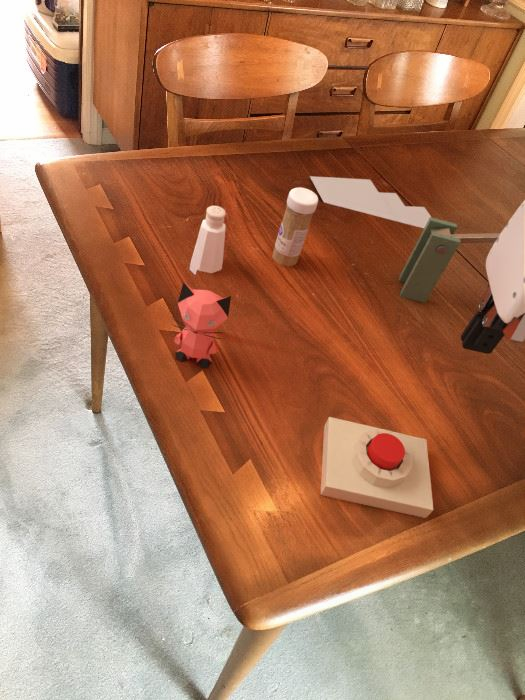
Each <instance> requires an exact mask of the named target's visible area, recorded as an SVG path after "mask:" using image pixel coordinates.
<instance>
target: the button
mask: <svg viewBox="0 0 525 700" xmlns="http://www.w3.org/2000/svg"><path fill="white" fill-rule="evenodd" d="M404 455H405V448H404V446H403V444H402V442H401V441H400V440H399V439H398V438H397V437H395V436H393V435H391V434H388V433H381V434H378V435H376V436H375V437H374V439H373V440H372V442H371V443H370V445H369V447H368V456H369V458H370V460H371V461H372V462H373V463H374V464H375V465H376V466H377V467H379V468H381V469H385V470H391V469H394V468H396V467H397V466H398V464H399V463H400V462H401V460H402V459H403V458H404Z"/></svg>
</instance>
